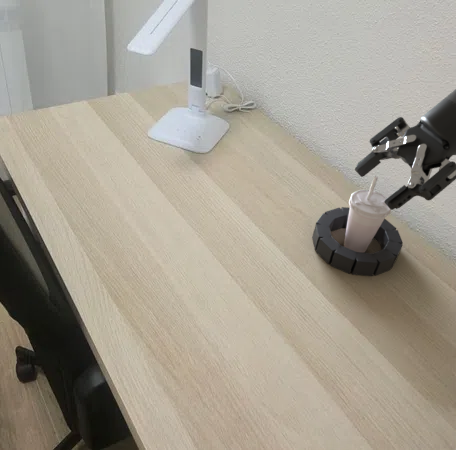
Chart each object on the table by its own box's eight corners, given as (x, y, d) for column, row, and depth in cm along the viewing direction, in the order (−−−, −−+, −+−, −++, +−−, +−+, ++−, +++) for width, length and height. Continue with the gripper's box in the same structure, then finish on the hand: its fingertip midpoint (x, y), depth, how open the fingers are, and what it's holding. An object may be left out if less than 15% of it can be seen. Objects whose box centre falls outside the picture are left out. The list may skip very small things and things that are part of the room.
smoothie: (347, 228, 96) (369, 162, 87) (381, 246, 93) (408, 179, 84) (328, 246, 93) (350, 178, 84) (363, 265, 89) (389, 197, 80)
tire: (405, 240, 94) (411, 227, 92) (381, 288, 86) (387, 274, 84) (330, 210, 100) (334, 197, 98) (300, 252, 91) (303, 239, 89)
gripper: (425, 78, 83) (338, 151, 88) (491, 126, 72) (388, 206, 77) (442, 106, 87) (358, 174, 92) (507, 155, 77) (408, 229, 82)
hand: (372, 189), depth 85 cm, fingers open, 8 cm apart
